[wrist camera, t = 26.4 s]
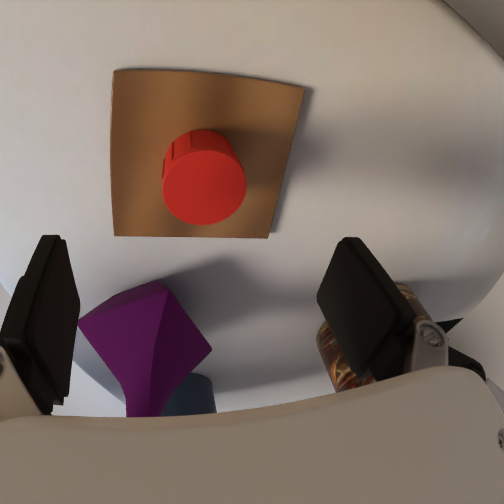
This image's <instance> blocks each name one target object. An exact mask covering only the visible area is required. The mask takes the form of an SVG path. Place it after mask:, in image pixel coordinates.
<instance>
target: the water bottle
mask: <svg viewBox="0 0 504 504" xmlns="http://www.w3.org/2000/svg"><path fill="white" fill-rule="evenodd" d="M211 413H217V411H216V406H215V400H214V394H213V389H212V383H211V381H210V380H209V379H208V378H206V377H205V376H202V375H198V374H192V373H189V375H188V376H187V377H186V378H185V379H184V380H183V381H182V382H181V384H180V385H179V386H178V387H177V388H176V389H175V390H174V391H173V393H172V395H171V396H170V398H169V400H168V402H167V403H166V405H165V407H164V409H163V412H162V414H161V417H169V416H186V415H200V414H211Z"/></svg>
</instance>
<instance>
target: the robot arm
mask: <svg viewBox="0 0 504 504" xmlns="http://www.w3.org/2000/svg"><path fill="white" fill-rule="evenodd" d="M317 302H318V305H319V307H320V309H321V311H322V313H323V315H324V317H325V319H326V321H327V323H328V325H329V327H330V329H331V331H332V333H333V335H334V337H335V339H336V341H337V343H338V345H339V347H340V349H341V351H342V353H343V355H344V357H345V359H346V361H347V363H348V365H349V367H350V369H351V371H352V372H353V373H355V374H356V376H357V378H358V380H360V379H364V378H368V377H370V376H371V375H373V376H374V381H373V383H372V384H369V385H365V386H361V387H357V388H354V389H350V390H346V391H342V392H338V393H333V394H329V395H324V396H320V397H315V398H311V399H306V400H301V401H296V402H290V403H285V404H279V405H273V406H267V407H260V408H253V409H246V410H238V411H230V412H221V413H211V414H200V415H186V416H169V417H82V416H54V415H52V414H51V412H52V411H53V405H63V402H64V397H67V396H68V394H69V386H70V376H71V367H72V358H73V351H74V343H75V337H76V330H77V324H78V318H79V313H80V299H79V295H78V292H77V288H76V284H75V280H74V276H73V272H72V268H71V263H70V259H69V254H68V250H67V245H66V241H65V240H64V239H61V238H60V236H59V235H43V236H42V237H41V239H40V241H39V243H38V245H37V247H36V249H35V252H34V254H33V256H32V258H31V261H30V263H29V265H28V268H27V270H26V272H25V275H24V276H22V277H21V278H20V279H19V281H18V283H17V286H16V288H15V291H14V294H13V296H12V299H11V302H10V305H9V307H8V310H7V313H6V316H5V319H4V322H3V325H2V328H1V331H0V504H504V392H503V391H502V390H501V389H500V388H499V387H498V386H497V385H495V384H494V383H493V382H492V381H491V380H490V379H489V378H487V379H486V376H485V372H484V370H483V367H482V365H481V364H480V363H479V362H477V361H476V360H474V359H472V358H470V357H468V356H466V355H465V354H463V353H461V352H459V351H457V350H455V349H453V348H451V347H449V346H448V339H447V336H446V333H445V332H444V330H443V329H442V328H441V327H440V326H439V325H438V324H436V323H435V322H433V321H430V320H425V319H423V320H420V321H419V322H418V323H417V324H415V323H414V320H415V318H416V317H417V316H418V315H417V314H416V313H415V311H414V310H413V308H412V307H411V305H410V304H409V303H408V301H407V300H406V298H405V297H404V296H403V294H402V293H401V291H400V290H399V289H398V287H397V286H396V284H395V283H394V282H393V280H392V279H391V278H390V276H389V275H388V274H387V272H386V271H385V270H384V268H383V267H382V266H381V264H380V263H379V262H378V260H377V259H376V258H375V257H374V255H373V254H372V253H371V251H370V250H369V249H368V248H367V246H366V245H365V244H364V243H363V241H362V240H361V239H360V238H358V237H345V238H343V239H342V241H340V242H338V244H337V247H336V249H335V252H334V254H333V257H332V259H331V262H330V264H329V266H328V269H327V271H326V274H325V276H324V278H323V281H322V283H321V285H320V288H319V290H318V292H317Z"/></svg>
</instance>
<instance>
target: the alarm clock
mask: <svg viewBox="0 0 504 504" xmlns="http://www.w3.org/2000/svg"><path fill="white" fill-rule="evenodd" d="M444 1H445V2H446V3H447V4H448V5H449V6H451V7H452V8H453V9H454V10H455V11H456V12H457V13H458V14H459V15H461V16H462V17H463V18H464V19H465V20H466V21H467V22H468V23H469V24H470V25H471V26H472V27H473V28H474V29H475V30H476V31H477V32H478V33H479V34H480V35H481V36H482V37H483V38H484V39H485V40H486V41H487V42H488V43H489V44H490V46H491V47H492V48H493V49H494V50H495V51H496V52H497V53H498V55H499V56H500V57H501V58H502V59H503V60H504V0H444Z"/></svg>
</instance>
